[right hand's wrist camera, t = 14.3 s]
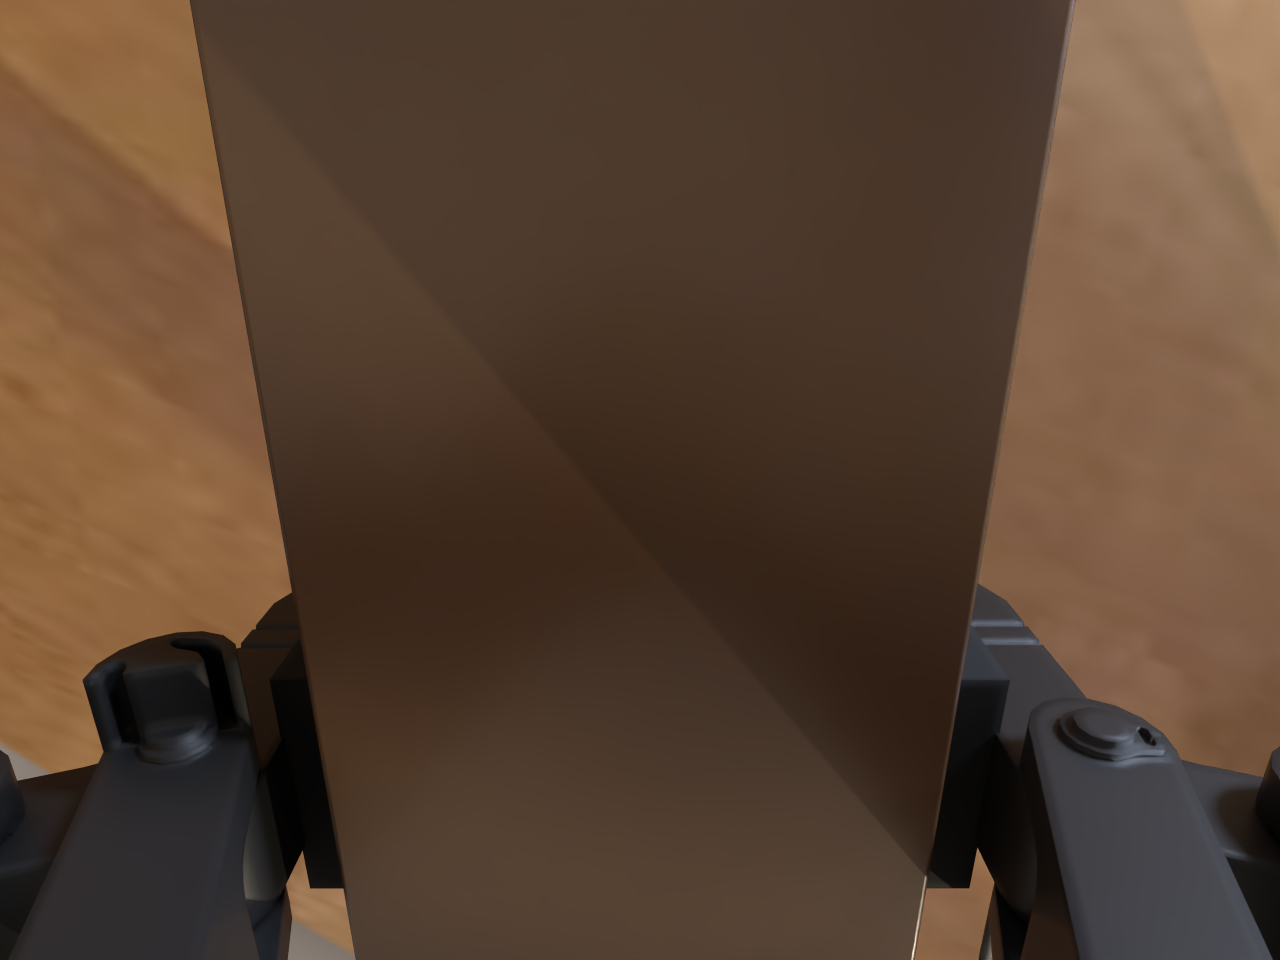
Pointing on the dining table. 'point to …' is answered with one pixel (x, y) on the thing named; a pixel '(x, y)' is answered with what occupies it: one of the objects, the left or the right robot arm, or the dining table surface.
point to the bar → (633, 443)
